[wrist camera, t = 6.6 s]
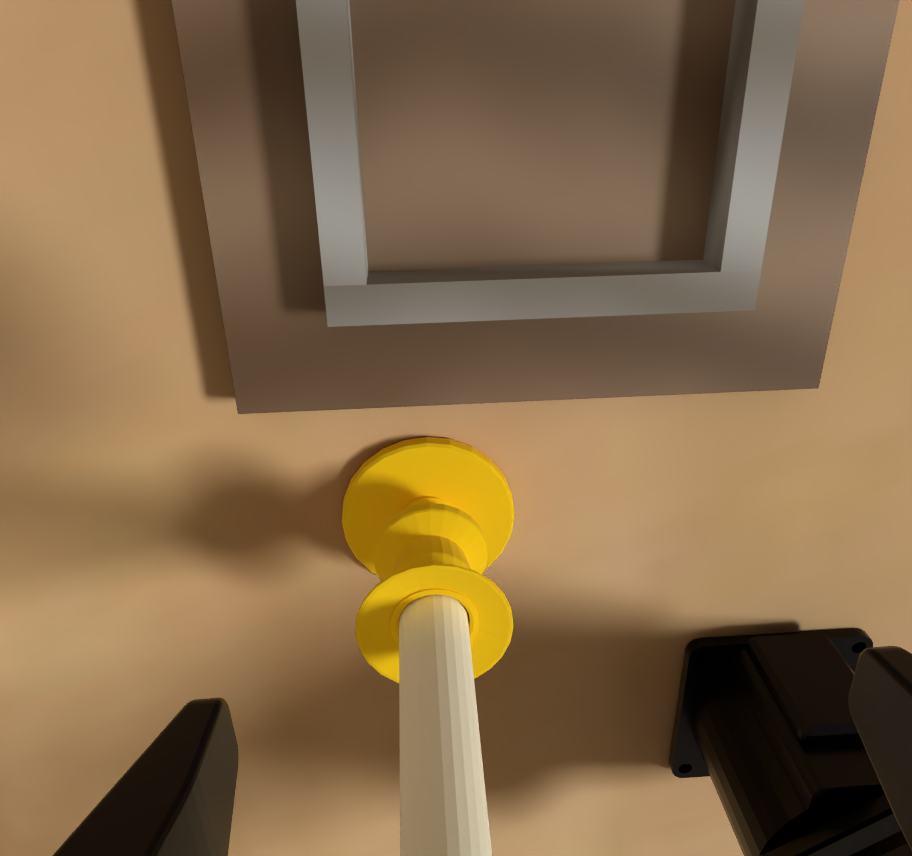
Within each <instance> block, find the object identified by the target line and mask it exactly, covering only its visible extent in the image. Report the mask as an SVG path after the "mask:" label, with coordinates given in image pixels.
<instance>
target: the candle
mask: <svg viewBox="0 0 912 856" xmlns="http://www.w3.org/2000/svg"><path fill="white" fill-rule="evenodd" d="M514 517H515V515H514V507H513V499H512V494H511V490H510V488H509V486H508V484H507V481H506V479H505V477H504V475H503V473H502V472H501V471H500V469H499V468H498V467H497V466H496V465H495V464H494V463H493V462H492V460H491V459H490V458H489V457H487V456H486V455H484V454H483V453H481V452H480V451H478V450H477V449H475V448H473V447H472V446H470V445H467V444H464V443H461V442H458V441H455V440H452V439H446V438H434V437H422V438H416V439H409V440H403V441H401V442H398V443H396V444H393V445H391V446H388V447H386V448H383V449H381V450H380V451H379V452H377V453H376V454H375V455H373V456H372V457H371V458H369V459H368V460H366V461H365V462H364V463H363V464H362V466H361V467H360V468H359V469H358V471H357V472H356V473H355V474H354V476H353V477H352V478H351V481H350V483H349V486H348V488H347V491H346V493H345V496H344V501H343V513H342V526H343V530H344V534H345V538H346V542H347V543H348V545H349V547H350V548H351V550H352V552H353V553H354V555H355V557H356V558H357V559H358V560H359V561H360V562H361V563H362V564H363V565H364V566H365V567H366V568H367V569H368V570H369V571H371V572H372V573H374V574H376V575H378V576H379V578H380V579H381V581H382V582H380V583H379V584H377V585H376V586H375V587H374V588H373V589H372V591H371V592H370V593H369V594H368V595H367V596H366V598H365V599H364V600H363V603H362V605H361V607H360V609H359V612H358V614H357V621H356V632H355V634H356V638H357V642H358V646H359V649H360V651H361V652H362V654H363V656H364V657H365V659H366V660H367V662H368V663H369V664H370V665H371V666H372V667H373V668H374V669H376V670H377V671H378V672H379V673H380V674H381V675H383V676H385V677H387V678H389V679H391V680H393V681H395V682H397V683H399V722H400V856H492V851H491V841H490V831H489V821H488V812H487V802H486V792H485V782H484V773H483V763H482V753H481V743H480V733H479V724H478V714H477V704H476V694H475V684H474V679H475V678H477V677H478V676H480V675H482V674H483V673H485V672H486V671H488V670H490V669H491V668H492V667H493V666H494V665H495V664H496V663H497V662H498V661H499V660H500V659H501V658H502V656H503V655H504V653H505V651H506V649H507V647H508V646H509V644H510V642H511V637H512V632H513V627H514V624H513V617H512V609H511V606H510V604H509V602H508V600H507V598H506V596H505V594H504V593H503V592H502V591H501V590H500V589H499V588H498V587H497V586H496V584H495V583H494V582H493V581H492V580H490V579H488V578H487V577H485V576H483V575H482V574H483V572H484V570H485V569H486V568H487V567H489V566H490V565H491V564H492V562H493V561H494V560H495V559H496V558H497V557H498V556H499V555H500V554H501V553H502V551H503V549H504V547H505V545H506V544H507V542H508V540H509V538H510V536H511V532H512V527H513V522H514Z"/></svg>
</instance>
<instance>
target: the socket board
mask: <svg viewBox="0 0 912 856" xmlns="http://www.w3.org/2000/svg"><path fill="white" fill-rule="evenodd" d="M171 1H172V7H173V13H174V19H175V25H176V32H177V38H178V44H179V50H180V57H181V63H182V69H183V75H184V81H185V88H186V94H187V100H188V106H189V112H190V119H191V125H192V131H193V137H194V144H195V150H196V156H197V162H198V168H199V175H200V181H201V187H202V193H203V199H204V206H205V212H206V218H207V224H208V230H209V237H210V243H211V249H212V255H213V262H214V268H215V274H216V280H217V286H218V293H219V299H220V305H221V311H222V317H223V324H224V330H225V336H226V342H227V349H228V355H229V361H230V367H231V373H232V380H233V386H234V392H235V398H236V404H237V411H238V414H248V413H271V412H294V411H316V410H339V409H361V408H384V407H407V406H429V405H452V404H475V403H497V402H520V401H542V400H565V399H588V398H610V397H633V396H655V395H678V394H701V393H723V392H746V391H768V390H791V389H814V388H818V387H819V383H820V378H821V373H822V368H823V363H824V359H825V354H826V349H827V344H828V340H829V335H830V330H831V325H832V320H833V316H834V311H835V306H836V301H837V296H838V292H839V287H840V282H841V277H842V272H843V268H844V263H845V258H846V253H847V248H848V244H849V239H850V234H851V229H852V225H853V220H854V215H855V210H856V205H857V201H858V196H859V191H860V186H861V181H862V177H863V172H864V167H865V162H866V157H867V153H868V148H869V143H870V138H871V134H872V129H873V124H874V119H875V114H876V110H877V105H878V100H879V95H880V90H881V86H882V81H883V76H884V71H885V66H886V62H887V57H888V52H889V47H890V42H891V38H892V33H893V28H894V23H895V19H896V14H897V9H898V4H899V0H171Z"/></svg>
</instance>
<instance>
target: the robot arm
mask: <svg viewBox="0 0 912 856" xmlns="http://www.w3.org/2000/svg"><path fill="white" fill-rule="evenodd" d="M854 644H855V645H854ZM704 651H705V652H704ZM701 652H704V653H703V654H700V655H698V654H699V653H701ZM669 765H670V767H671V770H672V773H673V774H674V775H675V776H677V777H679V778H689V777H703V776H710V777H711V779H712V781H713V784H714V786H715V788H716V791H717V793H718V795H719V798H720V800H721V802H722V805H723V807H724V810H725V812H726V814H727V817H728V819H729V821H730V824H731V826H732V828H733V831H734V833H735V835H736V838H737V840H738V842H739V845H740V847H741V850H742V852H743V854H744V856H912V654H911V653H910V652H908V651H906V650H904V649H902V648H900V647H897V646H885V647H873V642H872V640H871V639H870V637H869V636H868V635H867V634H866V632H865V631H863V630H861V629H842V630H825V631H809V632H792V633H776V634H759V635H742V636H726V637H709V638H699V639H695V640H693V641H691V642H690V643H689V644H688V645H687V647H686V650H685V656H684V662H683V669H682V676H681V683H680V689H679V696H678V703H677V709H676V716H675V723H674V729H673V736H672V743H671V749H670V756H669ZM237 771H238V746H237V741H236V736H235V732H234V728H233V723H232V719H231V715H230V710H229V707H228V704H227V702H226V701H225V700H224V699H222V698H210V699H197V700H192V701H190V702H189V703H187V704H186V705H185V706H184V707H183V708H182V710H181V711H180V712H179V713H178V714H177V715H176V716H175V717H174V719H173V720H172V721H171V722H170V723H169V724H168V725H167V727H166V728H165V729H164V730H163V731H162V732H161V733H160V734H159V736H158V737H157V738H156V739H155V740H154V741H153V742H152V744H151V745H150V746H149V747H148V748H147V749H146V750H145V751H144V753H143V754H142V755H141V756H140V757H139V758H138V759H137V761H136V762H135V763H134V764H133V765H132V766H131V767H130V768H129V770H128V771H127V772H126V773H125V774H124V775H123V776H122V778H121V779H120V780H119V781H118V782H117V783H116V784H115V785H114V787H113V788H112V789H111V790H110V791H109V792H108V793H107V794H106V796H105V797H104V798H103V799H102V800H101V801H100V802H99V804H98V805H97V806H96V807H95V808H94V809H93V810H92V811H91V813H90V814H89V815H88V816H87V817H86V818H85V819H84V821H83V822H82V823H81V824H80V825H79V826H78V827H77V828H76V830H75V831H74V832H73V833H72V834H71V835H70V836H69V838H68V839H67V840H66V841H65V842H64V843H63V844H62V845H61V847H60V848H59V849H58V850H57V851H56V852H55V853H54V855H53V856H228V848H229V839H230V831H231V822H232V814H233V805H234V796H235V788H236V779H237Z"/></svg>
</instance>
